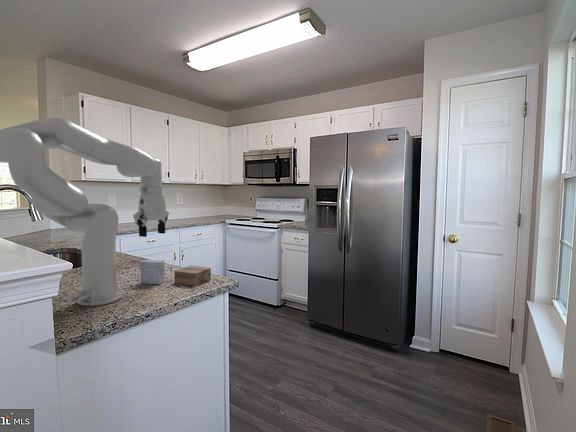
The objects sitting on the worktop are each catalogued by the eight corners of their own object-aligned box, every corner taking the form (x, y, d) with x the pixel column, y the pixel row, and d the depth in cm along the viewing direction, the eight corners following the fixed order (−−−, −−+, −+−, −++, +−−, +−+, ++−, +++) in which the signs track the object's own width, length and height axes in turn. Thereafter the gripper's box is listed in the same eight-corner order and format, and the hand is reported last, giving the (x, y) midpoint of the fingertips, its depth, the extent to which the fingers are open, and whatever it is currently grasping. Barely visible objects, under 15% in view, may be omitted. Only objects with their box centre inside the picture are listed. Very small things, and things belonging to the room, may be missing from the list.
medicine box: (165, 281, 124) (164, 260, 124) (159, 284, 120) (159, 262, 119) (146, 280, 125) (146, 259, 125) (140, 283, 121) (139, 261, 120)
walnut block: (195, 286, 119) (195, 273, 119) (174, 283, 123) (174, 270, 122) (210, 279, 129) (210, 268, 128) (190, 277, 132) (190, 265, 132)
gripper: (141, 191, 111) (142, 238, 112) (174, 191, 127) (175, 232, 128) (125, 190, 113) (127, 237, 115) (160, 191, 129) (161, 231, 131)
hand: (152, 234), depth 121 cm, fingers open, 9 cm apart
